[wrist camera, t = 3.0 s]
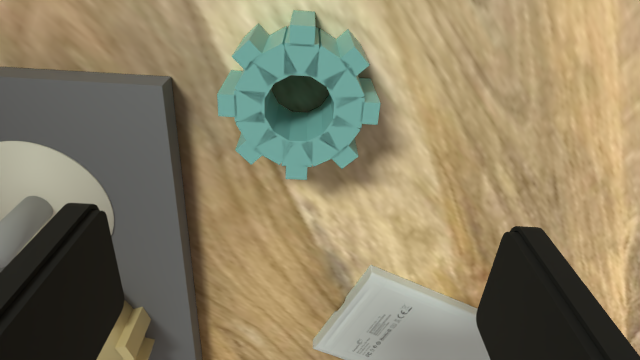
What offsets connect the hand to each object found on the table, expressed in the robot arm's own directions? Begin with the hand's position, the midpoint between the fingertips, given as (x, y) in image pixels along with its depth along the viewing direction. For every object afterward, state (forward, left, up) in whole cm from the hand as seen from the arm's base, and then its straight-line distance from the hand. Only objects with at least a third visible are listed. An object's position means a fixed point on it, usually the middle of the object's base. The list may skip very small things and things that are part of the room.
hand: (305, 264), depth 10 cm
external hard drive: (+18, +9, -14) cm, 24 cm away
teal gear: (0, 0, -13) cm, 13 cm away
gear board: (+12, -14, -13) cm, 23 cm away
